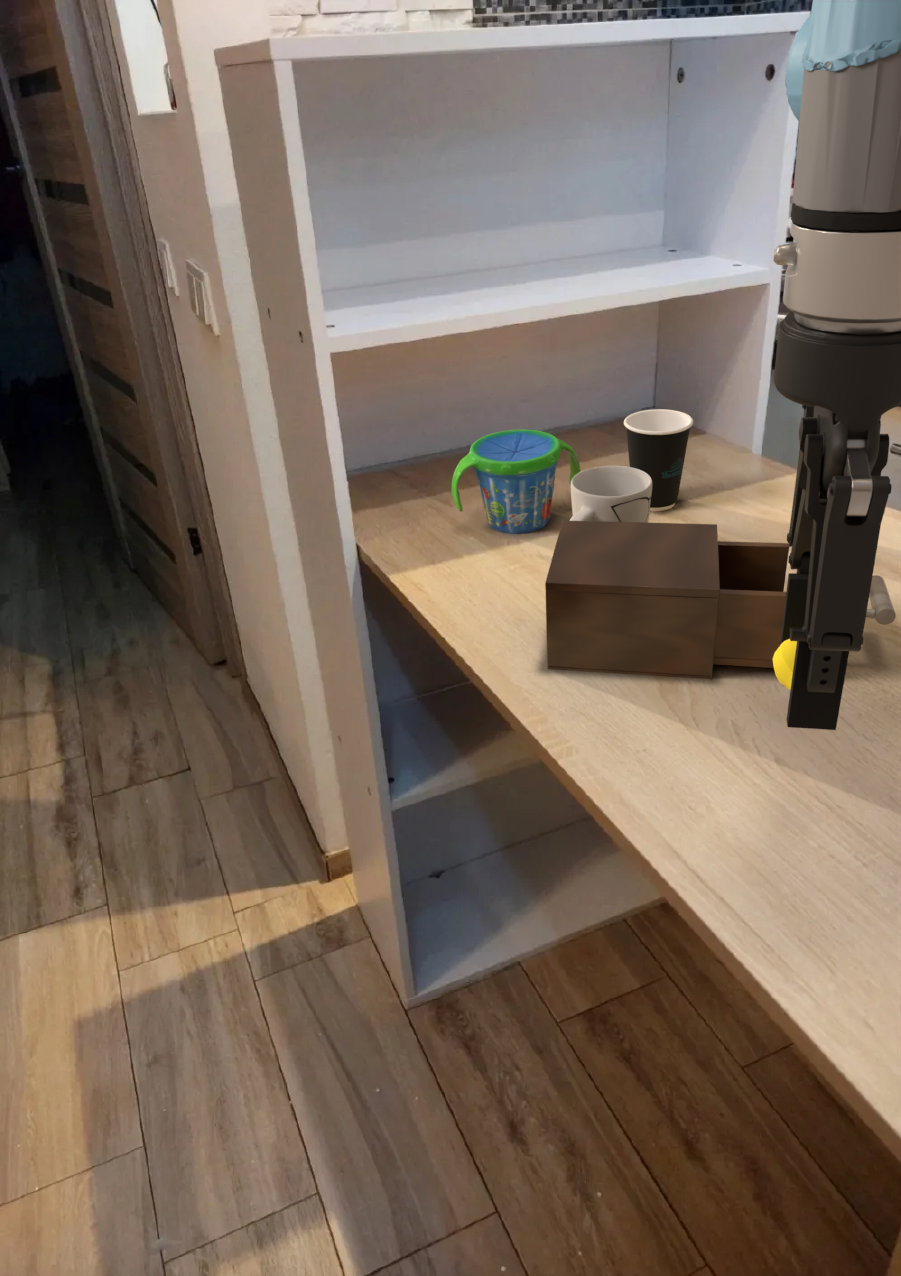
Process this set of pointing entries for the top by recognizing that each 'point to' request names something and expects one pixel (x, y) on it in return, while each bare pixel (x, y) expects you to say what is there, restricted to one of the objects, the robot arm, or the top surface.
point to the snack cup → (515, 477)
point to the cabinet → (633, 598)
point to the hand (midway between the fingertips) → (805, 692)
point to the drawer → (763, 602)
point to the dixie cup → (659, 451)
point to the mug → (611, 494)
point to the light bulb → (785, 662)
